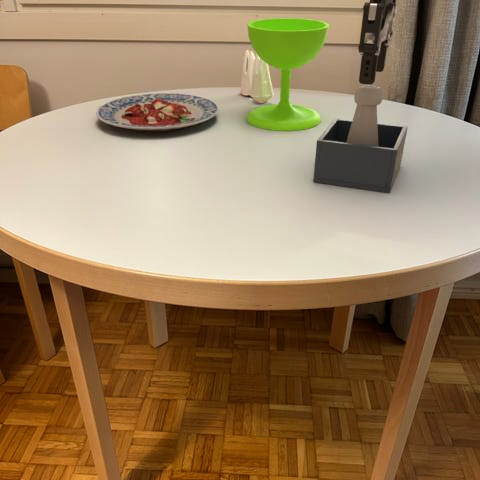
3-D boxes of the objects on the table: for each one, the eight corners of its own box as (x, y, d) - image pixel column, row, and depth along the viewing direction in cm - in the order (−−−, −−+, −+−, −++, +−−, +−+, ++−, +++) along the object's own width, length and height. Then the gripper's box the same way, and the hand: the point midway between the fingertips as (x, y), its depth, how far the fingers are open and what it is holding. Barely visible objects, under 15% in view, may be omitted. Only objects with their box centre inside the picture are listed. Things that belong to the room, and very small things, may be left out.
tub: (400, 165, 92) (407, 126, 88) (389, 193, 83) (397, 150, 79) (330, 156, 96) (334, 118, 92) (313, 182, 87) (316, 140, 82)
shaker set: (274, 104, 123) (276, 52, 116) (258, 106, 122) (259, 53, 115) (254, 92, 132) (255, 42, 125) (238, 93, 131) (238, 44, 124)
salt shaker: (376, 164, 91) (388, 83, 83) (376, 176, 86) (390, 92, 78) (341, 161, 92) (351, 81, 84) (340, 174, 87) (350, 90, 79)
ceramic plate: (75, 118, 114) (72, 104, 113) (171, 97, 128) (170, 84, 126) (142, 148, 99) (140, 132, 97) (243, 120, 113) (243, 106, 111)
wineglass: (332, 115, 116) (342, 22, 105) (301, 135, 105) (307, 34, 94) (268, 104, 123) (271, 16, 112) (232, 122, 112) (231, 26, 101)
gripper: (411, -51, 64) (389, 90, 74) (423, -56, 75) (403, 68, 84) (349, -51, 66) (336, 86, 76) (369, -56, 77) (356, 65, 87)
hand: (371, 77), depth 80 cm, fingers open, 8 cm apart
